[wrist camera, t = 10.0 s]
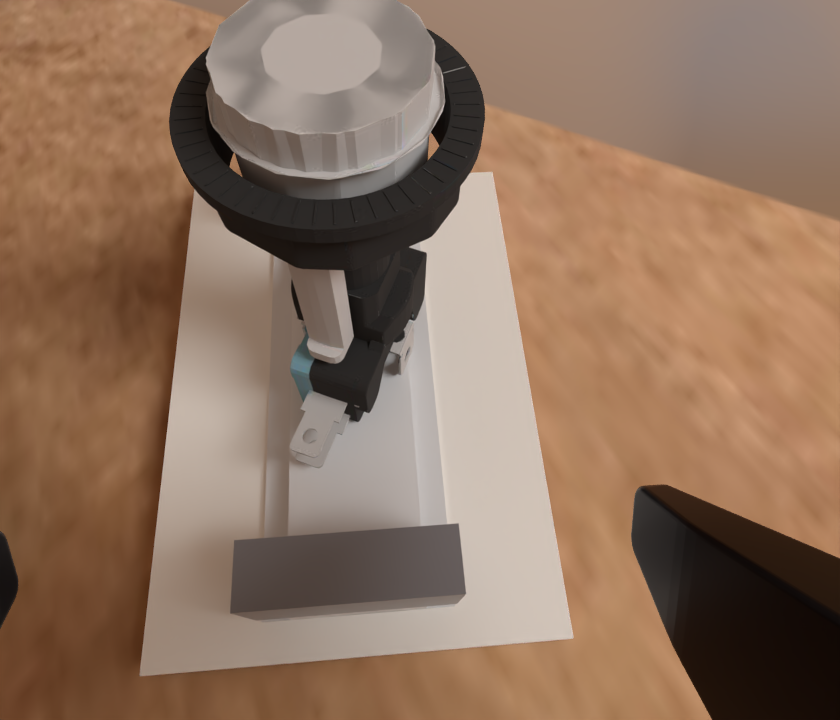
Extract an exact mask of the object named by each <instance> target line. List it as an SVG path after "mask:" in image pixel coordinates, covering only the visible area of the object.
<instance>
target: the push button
mask: <svg viewBox="0 0 840 720" xmlns="http://www.w3.org/2000/svg"><path fill="white" fill-rule="evenodd" d="M484 121H485V106H484V100H483V95H482V91H481V88H480V85H479V83H478V80H477V78H476V76H475V74H474V72H473V71H472V69H471V68H470V66H469V64H468V63H467V62H466V61H465V60H464V58H463V57H462V56H461V55H460V54H459V53H458V52H457V51H456V50H455V49H454V48H453V47H452V46H451V45H450V44H449V43H447V42H446V41H445V40H444V39H442V38H441V37H439V36H438V35H436V34H435V33H433V32H432V31H430V30H428V29H426V28H425V26H424V24H423V22H422V20H421V18H420V17H419V15H417V14H416V13H415V12H413V11H412V10H411V9H410V7H408V6H406V5H404V4H402V3H400V2H398V1H397V0H250V1H248V2H247V3H246V4H245V5H243V6H242V7H241V8H240V9H239V10H237V11H236V12H235V13H234V14H232V15H231V16H230V17H229V18H227V19H226V20H225V21H224V22H222V23H221V24H220V25H219V27H218V29H217V32H216V34H215V37H214V39H213V42H212V44H211V46H210V47H209V48H208V49H206V50H205V51H204V52H203V53H202V54H201V55H200V56H199V57H198V58H197V59H196V60H195V61H194V62H193V63H192V65H191V66H190V67H189V69H188V70H187V71H186V73H185V74H184V76H183V77H182V79H181V81H180V83H179V84H178V87H177V89H176V92H175V94H174V96H173V100H172V104H171V108H170V118H169V124H170V135H171V140H172V145H173V147H174V150H175V153H176V155H177V158H178V160H179V162H180V164H181V167H182V169H183V171H184V173H185V175H186V177H187V178H188V180H189V182H190V184H191V185H192V186H193V188H194V189H195V190H196V192H197V193H198V194H199V195H200V196H201V197H202V198H203V199H204V200H205V201H206V202H207V203H208V204H209V205H210V206H211V207H213V208H214V209H215V210H216V211H217V212H218V214H219V216H220V218H221V220H222V222H223V224H224V226H225V227H226V228H227V229H228V230H229V231H230V232H232V233H233V234H235V235H237V236H239V237H241V238H243V239H244V240H246V241H248V242H250V243H252V244H254V245H255V246H257V247H259V248H261V249H263V250H265V251H266V252H268V253H270V254H272V255H274V256H276V257H277V258H279V259H281V260H283V261H285V262H287V263H288V267H289V270H290V274H291V277H292V279H291V293H292V298H293V303H294V306H295V310H296V313H297V319H299V320H302V322H301V324H302V325H303V327H302V329H303V333H304V338H303V340H302V342H301V344H299V346H298V348H297V350H296V352H295V354H294V356H293V358H292V361H291V365H290V373H291V375H292V378H294V380H295V383H296V386H297V388H298V391H299V393H300V396H301V398H302V401H303V405H302V407H301V409H300V410H301V411H304V412H305V413H304V416H303V418H302V420H301V422H300V424H299V426H298V428H297V430H296V433H295V435H294V437H293V439H292V441H291V443H290V445H289V446H290V448H291V450H292V451H295V452H297V453H296V456H295V457H296V460H297V461H299V462H301V463H304V464H307V465H310V466H313V467H315V468H321V467H323V464H324V462H325V460H326V457H327V455H328V453H329V451H330V448H331V446H332V444H333V441H334V439H335V437H336V435H337V434H340V435H342V434H343V432H344V430H345V427H346V425H347V423H348V420H349V419H350V420H353V421H356V422H359V421H360V420H361V418H362V416H363V413H364V412H366V413H370V412H371V410H372V408H373V406H374V404H375V401H376V399H377V396H378V393H379V389H380V384H381V379H382V374H383V369H384V364H385V361H386V359H387V357H388V354H389V352H390V353H393V354H396V355H398V356H400V357H399V359H398V365H399V375H402V374H403V372H404V369H405V367H406V365H407V362H408V360H409V357H410V355H411V352H412V349H413V345H414V329H413V327H414V323H413V322H411V321H409V320H412V321H415V320H416V318H417V316H418V313H419V311H420V309H421V306H422V303H423V300H424V295H425V278H426V261H427V253H426V252H423V251H420V250H416V249H413V248H410V246H412V245H415V244H417V243H419V242H422V241H424V240H426V239H428V238H430V237H432V236H433V235H434V234H435V233H436V231H437V230H438V229H439V227H440V226H441V225H442V223H443V222H444V221H445V219H446V218H447V217H448V215H449V214H450V213H451V211H452V210H453V209H454V207H455V206H456V205H457V203H458V200H459V194H460V186H461V185H462V184H463V182H464V181H465V180H466V178H467V176H468V175H469V173H470V172H471V170H472V168H473V166H474V164H475V162H476V160H477V157H478V153H479V150H480V147H481V141H482V134H483V127H484ZM430 133H432V134H433V136H434V137H435V139H436V141H437V142H438V144H439V147H438V149H437V151H436V152H435V153H434V154H433V155H432V156H431V158H430V159H429V160H428V143H429V134H430ZM233 153H235V155H236V158H237V161H238V164H239V167H240V170H241V173H242V176H243V177H241V176H240V175H238V174H237V173H236V172H234V171H233V170H232V169H231V168H230V167H229V165H230V162H231V159H232V155H233ZM305 431H307V432H306V434H305V436H304V438H303V434H304V433H305ZM312 441H315V442H314V443H311V442H312ZM321 449H322V450H321ZM320 451H321V452H320Z"/></svg>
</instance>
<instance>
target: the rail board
mask: <svg viewBox="0 0 840 720" xmlns="http://www.w3.org/2000/svg"><path fill="white" fill-rule="evenodd" d="M410 248H413V249H416V250H420V251H423V252H426V253H427V261H426V278H425V295H424V300H423V303H422V306H421V309H420V311H419V313H418V316H417V318H416V320H415V321H412V320H409V321H411V322H413V323H414V327H413V329H414V345H413V349H412V352H411V355H410V357H409V360H408V362H407V365H406V367H405V369H404V372H403V374H402V375H399V365H398V359H399V357H400V356H398V355H396V354H393V353H390V352H389V354H388V357H387V359H386V361H385V364H384V369H383V374H382V379H381V384H380V389H379V393H378V396H377V399H376V401H375V404H374V406H373V408H372V410H371V412H370V413H366V412H364V413H363V416H362V418H361V420H360V421H359V422H356V421H353V420H350V419H349V420H348V423H347V425H346V427H345V430H344V432H343V434H342V435H340V434H337V435H336V437H335V439H334V441H333V444H332V446H331V448H330V451H329V453H328V455H327V457H326V460H325V462H324V464H323V467H321V468H315V467H313V466H310V465H307V464H304V463H301V462H299V461H297V460H296V457H295V456H296V453H297V452H295V451H292V450H291V448H290V446H289V445H290V443H291V441H292V439H293V437H294V435H295V433H296V430H297V428H298V426H299V424H300V422H301V420H302V418H303V416H304V413H305V412H304V411H301V410H300V409H301V407H302V405H303V401H302V398H301V396H300V393H299V391H298V388H297V386H296V383H295V380H294V378H292V375H291V373H290V365H291V361H292V358H293V356H294V354H295V352H296V350H297V348H298V346H299V344H301V342H302V340H303V338H304V333H303V329H302V327H303V325H302V324H301V322H302V320H299V319H297V313H296V310H295V306H294V303H293V298H292V293H291V279H292V277H291V274H290V270H289V267H288V263H287V262H285V261H283V260H281V259H279V258H277V257H276V256H274V255H272V254H270V253H268V252H266V251H265V250H263V249H261V248H259V247H257V246H255V245H254V244H252V243H250V242H248V241H246V240H244V239H243V238H241V237H239V236H237V235H235V234H233V233H232V232H230V231H229V230H228V229H227V228H226V227H225V226H224V224H223V222H222V220H221V218H220V216H219V214H218V212H217V211H216V210H215V209H214V208H213V207H211V206H210V205H209V204H208V203H207V202H206V201H205V200H204V199H203V198H202V197H201V196H200V195H199V194H198V193H197V192H196V190H195V189H194V197H193V206H192V215H191V224H190V233H189V241H188V250H187V259H186V268H185V277H184V286H183V294H182V303H181V312H180V321H179V330H178V339H177V348H176V356H175V365H174V374H173V383H172V392H171V401H170V409H169V418H168V427H167V436H166V445H165V454H164V463H163V471H162V480H161V489H160V498H159V507H158V516H157V524H156V533H155V542H154V551H153V560H152V569H151V578H150V586H149V595H148V604H147V613H146V622H145V631H144V639H143V648H142V657H141V666H140V675H139V676H152V675H165V674H176V673H188V672H199V671H210V670H222V669H233V668H245V667H256V666H268V665H279V664H291V663H302V662H314V661H325V660H337V659H348V658H360V657H371V656H383V655H394V654H406V653H417V652H429V651H440V650H451V649H463V648H474V647H486V646H497V645H509V644H520V643H532V642H543V641H555V640H566V639H573V632H572V626H571V621H570V615H569V609H568V603H567V598H566V592H565V586H564V580H563V575H562V569H561V563H560V557H559V552H558V546H557V540H556V534H555V529H554V523H553V517H552V511H551V506H550V500H549V494H548V488H547V483H546V477H545V471H544V465H543V460H542V454H541V448H540V442H539V437H538V431H537V425H536V419H535V414H534V408H533V402H532V397H531V391H530V385H529V379H528V374H527V368H526V362H525V356H524V351H523V345H522V339H521V333H520V328H519V322H518V316H517V310H516V305H515V299H514V293H513V287H512V282H511V276H510V270H509V264H508V259H507V253H506V247H505V241H504V236H503V230H502V224H501V218H500V213H499V207H498V201H497V195H496V190H495V184H494V178H493V173H492V172H480V173H469V175H468V176H467V178H466V180H465V181H464V182H463V184H462V185H461V186H460V194H459V200H458V203H457V205H456V206H455V207H454V209H453V210H452V211H451V213H450V214H449V215H448V217H447V218H446V219H445V221H444V222H443V223H442V225H441V226H440V227H439V229H438V230H437V231H436V233H435V234H434V235H433V236H432V237H430V238H428V239H426V240H424V241H422V242H419V243H417V244H415V245H412V246H410ZM306 432H307V431H305V433H304V434H303V438H304V436H305V434H306ZM314 442H315V441H312V442H311V443H314ZM321 450H322V449H321ZM320 452H321V451H320Z"/></svg>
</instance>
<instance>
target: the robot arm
mask: <svg viewBox="0 0 840 720" xmlns="http://www.w3.org/2000/svg"><path fill="white" fill-rule="evenodd" d="M631 539H632V546H633V550H634V553H635V556H636V558H637V560H638V563H639V565H640V568H641V570H642V573H643V575H644V578H645V580H646V583H647V585H648V588H649V590H650V592H651V595H652V597H653V600H654V602H655V605H656V607H657V610H658V612H659V615H660V617H661V619H662V622H663V624H664V627H665V629H666V632H667V634H668V636H669V638H670V641H671V643H672V645H673V647H674V649H675V651H676V653H677V655H678V657H679V659H680V661H681V663H682V665H683V666H684V668H685V670H686V672H687V674H688V676H689V678H690V679H691V681H692V683H693V685H694V687H695V689H696V691H697V692H698V694H699V696H700V698H701V700H702V702H703V704H704V705H705V707H706V709H707V711H708V713H709V715H710V717H711V718H712V720H840V558H838V557H835V556H833V555H831V554H828V553H826V552H824V551H821V550H819V549H817V548H814V547H812V546H809V545H807V544H805V543H802V542H800V541H798V540H795V539H793V538H791V537H788V536H786V535H784V534H781V533H779V532H777V531H774V530H772V529H770V528H767V527H765V526H762V525H760V524H758V523H755V522H753V521H751V520H748V519H746V518H744V517H741V516H739V515H737V514H734V513H732V512H730V511H727V510H725V509H723V508H720V507H718V506H715V505H713V504H711V503H708V502H706V501H704V500H701V499H699V498H697V497H694V496H692V495H690V494H687V493H685V492H683V491H680V490H678V489H676V488H673V487H671V486H668V485H647V486H641V487H639V488H638V489H637V491H636V493H635V498H634V509H633V521H632V533H631ZM17 591H18V576H17V573H16V569H15V566H14V563H13V559H12V556H11V552H10V549H9V545H8V542H7V539H6V537H5V535H4V534H3V533H2V532H1V531H0V628H1V626H2V624H3V622H4V620H5V618H6V616H7V614H8V612H9V610H10V608H11V606H12V604H13V602H14V600H15V597H16V594H17Z"/></svg>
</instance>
